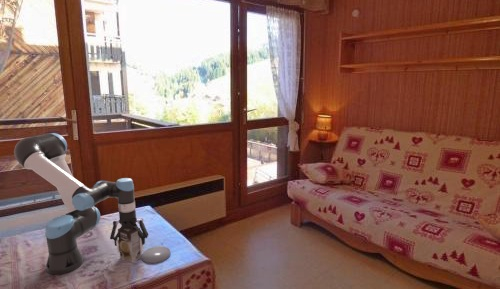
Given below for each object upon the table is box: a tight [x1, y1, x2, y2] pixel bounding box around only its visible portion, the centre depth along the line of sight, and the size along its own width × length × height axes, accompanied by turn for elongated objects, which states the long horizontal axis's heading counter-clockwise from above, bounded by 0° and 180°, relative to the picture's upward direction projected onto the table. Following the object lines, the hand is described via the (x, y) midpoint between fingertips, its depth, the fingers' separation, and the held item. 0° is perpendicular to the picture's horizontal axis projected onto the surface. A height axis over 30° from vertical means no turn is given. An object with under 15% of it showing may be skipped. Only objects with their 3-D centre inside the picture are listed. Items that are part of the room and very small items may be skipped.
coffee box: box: [117, 227, 143, 264], centre depth 148 cm, size 9×6×16 cm
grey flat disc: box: [141, 245, 171, 265], centre depth 151 cm, size 14×14×1 cm
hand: (130, 250), depth 148 cm, fingers closed on coffee box, 10 cm apart
